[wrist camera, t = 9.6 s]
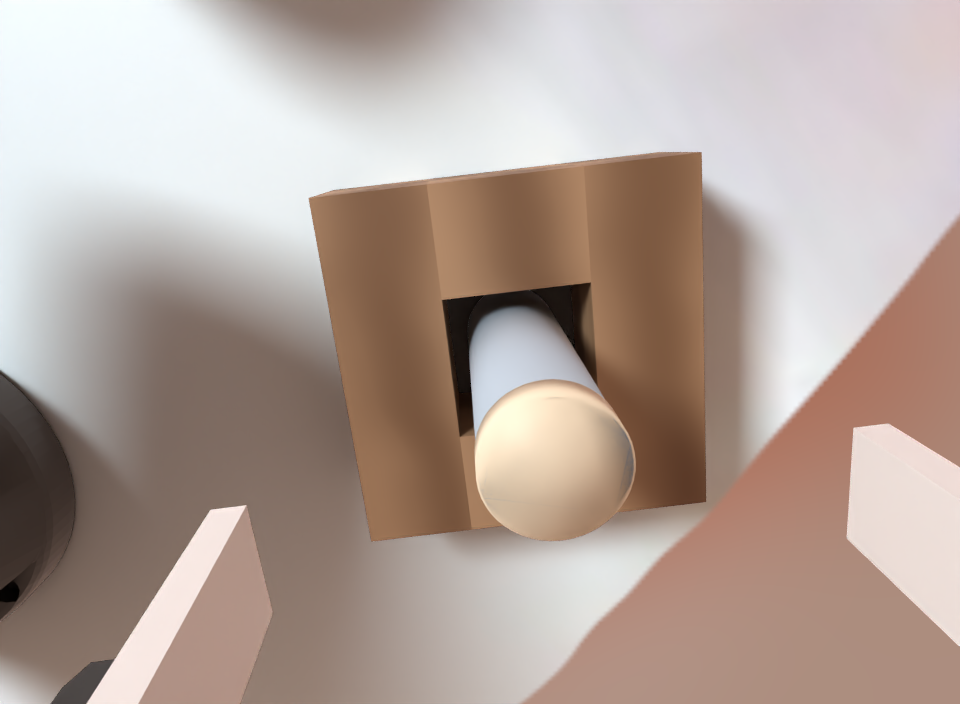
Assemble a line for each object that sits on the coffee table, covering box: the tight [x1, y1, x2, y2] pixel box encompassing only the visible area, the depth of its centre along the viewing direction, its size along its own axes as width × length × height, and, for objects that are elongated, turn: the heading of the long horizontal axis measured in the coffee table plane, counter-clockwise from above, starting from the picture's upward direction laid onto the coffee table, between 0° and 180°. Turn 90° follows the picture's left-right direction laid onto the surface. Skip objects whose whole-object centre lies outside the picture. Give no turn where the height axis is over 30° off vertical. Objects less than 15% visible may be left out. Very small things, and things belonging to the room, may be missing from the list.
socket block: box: [309, 152, 706, 541], centre depth 28 cm, size 14×14×5 cm
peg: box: [467, 290, 636, 541], centre depth 24 cm, size 4×4×14 cm
